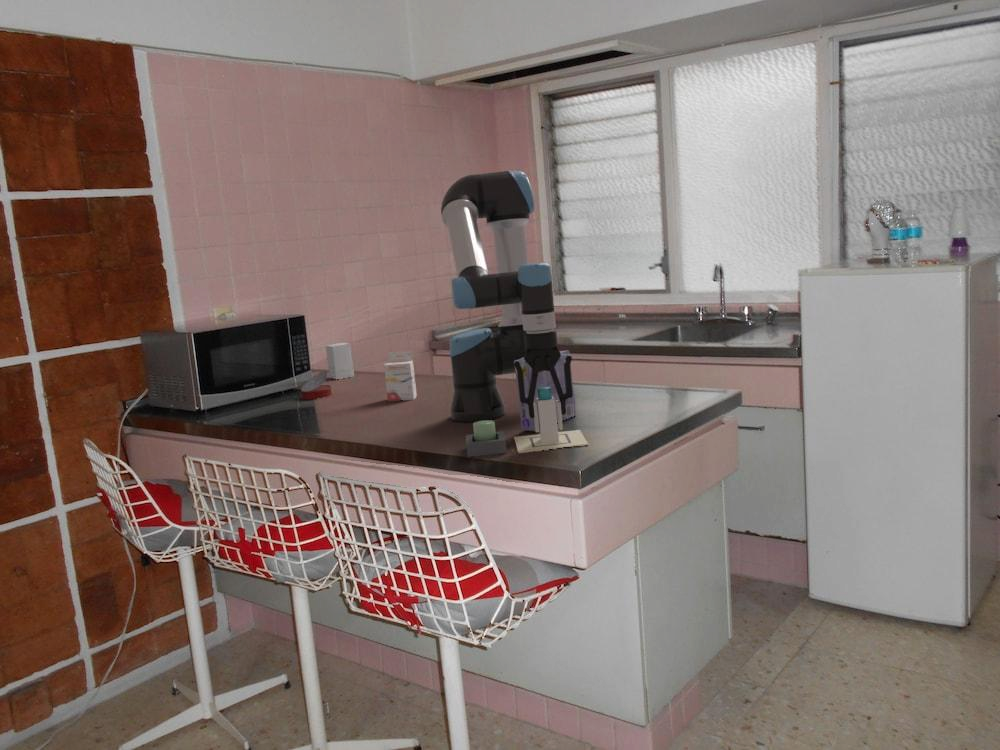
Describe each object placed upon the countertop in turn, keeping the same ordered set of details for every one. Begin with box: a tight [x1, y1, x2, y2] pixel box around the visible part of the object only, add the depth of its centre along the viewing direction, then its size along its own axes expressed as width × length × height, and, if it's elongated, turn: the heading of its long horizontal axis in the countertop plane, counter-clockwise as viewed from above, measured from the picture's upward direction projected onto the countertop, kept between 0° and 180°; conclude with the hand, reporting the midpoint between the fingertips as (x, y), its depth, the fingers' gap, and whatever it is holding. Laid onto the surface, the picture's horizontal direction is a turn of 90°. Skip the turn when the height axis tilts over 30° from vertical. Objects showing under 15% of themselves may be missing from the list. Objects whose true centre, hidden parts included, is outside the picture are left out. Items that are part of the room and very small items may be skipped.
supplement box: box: [325, 342, 355, 381], centre depth 333 cm, size 7×7×13 cm
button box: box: [465, 430, 508, 458], centre depth 207 cm, size 9×9×3 cm
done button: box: [472, 419, 497, 442], centre depth 207 cm, size 5×5×4 cm
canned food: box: [300, 370, 333, 400], centre depth 299 cm, size 11×10×10 cm
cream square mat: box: [513, 429, 589, 454], centre depth 209 cm, size 14×16×1 cm
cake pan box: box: [515, 349, 577, 433], centre depth 226 cm, size 19×5×18 cm, turn 141°
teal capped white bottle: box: [536, 387, 559, 443], centre depth 208 cm, size 4×4×12 cm
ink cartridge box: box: [383, 350, 417, 402], centre depth 279 cm, size 9×5×15 cm, turn 84°
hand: (549, 429), depth 209 cm, fingers open, 5 cm apart
